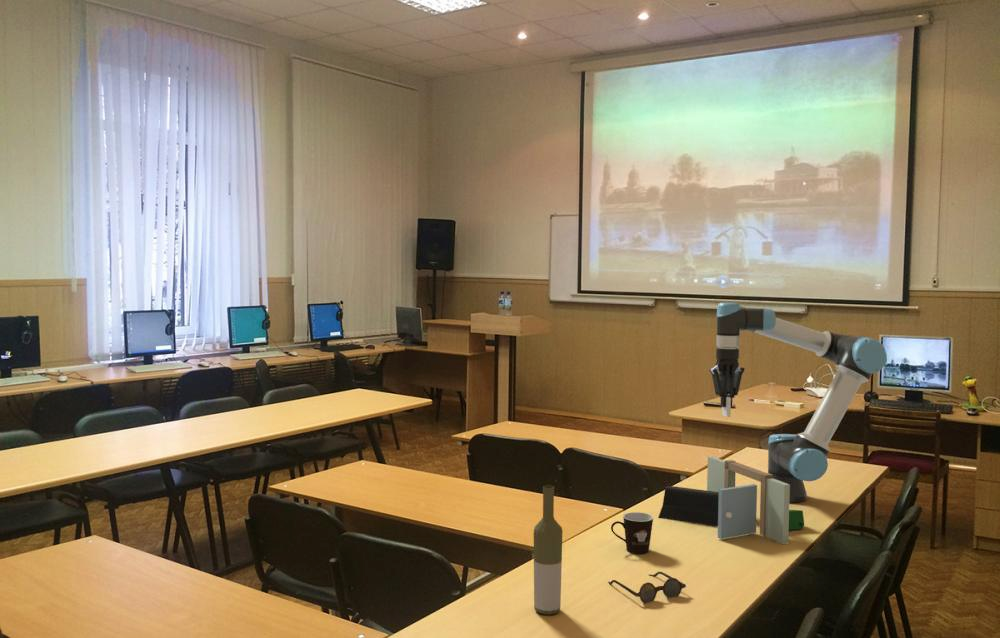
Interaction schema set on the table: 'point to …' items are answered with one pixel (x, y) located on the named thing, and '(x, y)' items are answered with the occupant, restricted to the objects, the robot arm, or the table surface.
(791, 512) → the clamp
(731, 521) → the door
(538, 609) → the bottle
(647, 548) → the coffee mug
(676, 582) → the eyeglasses
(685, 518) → the barrier
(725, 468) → the door frame
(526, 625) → the table surface
